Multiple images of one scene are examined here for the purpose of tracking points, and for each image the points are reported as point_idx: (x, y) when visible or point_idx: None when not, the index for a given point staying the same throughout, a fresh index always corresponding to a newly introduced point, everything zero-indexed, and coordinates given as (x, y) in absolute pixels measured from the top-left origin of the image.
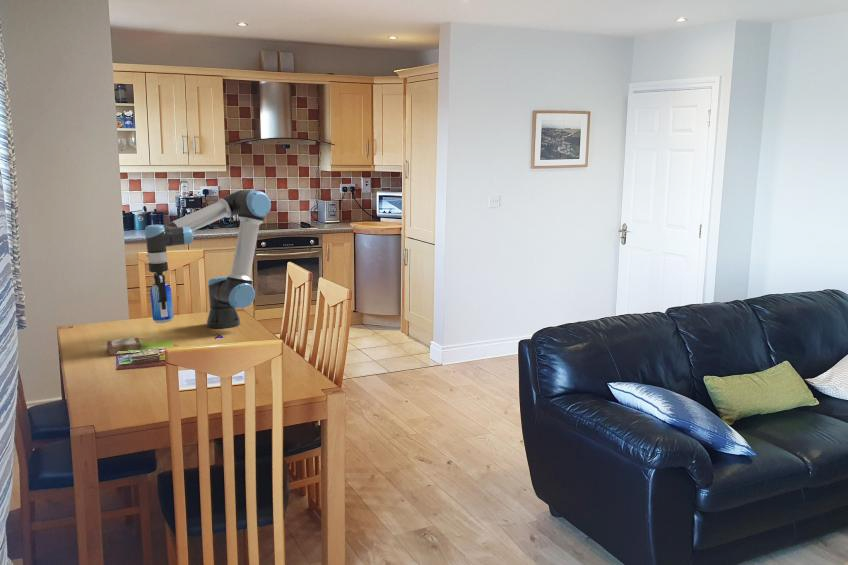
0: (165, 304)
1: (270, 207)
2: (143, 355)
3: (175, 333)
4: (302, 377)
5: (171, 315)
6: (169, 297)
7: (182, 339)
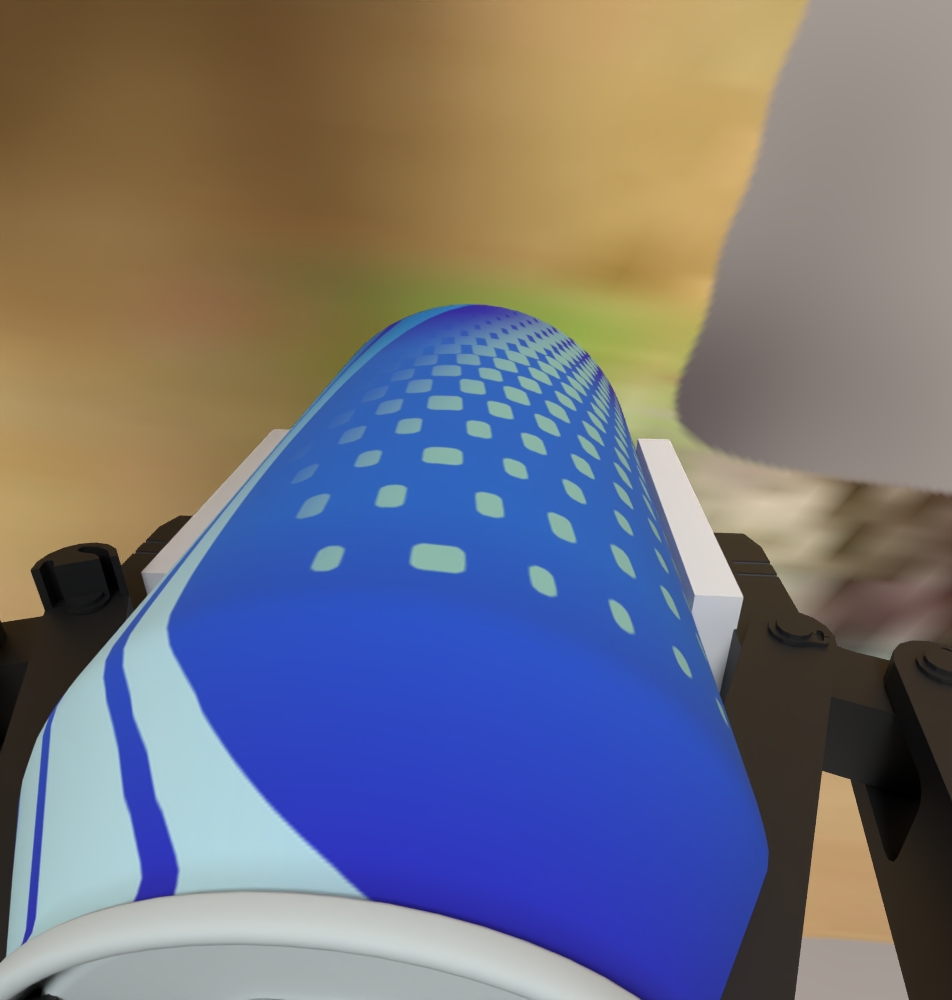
0: (788, 594)
1: None
2: (817, 579)
3: (72, 186)
4: None
5: (592, 368)
6: (643, 545)
7: (390, 154)
